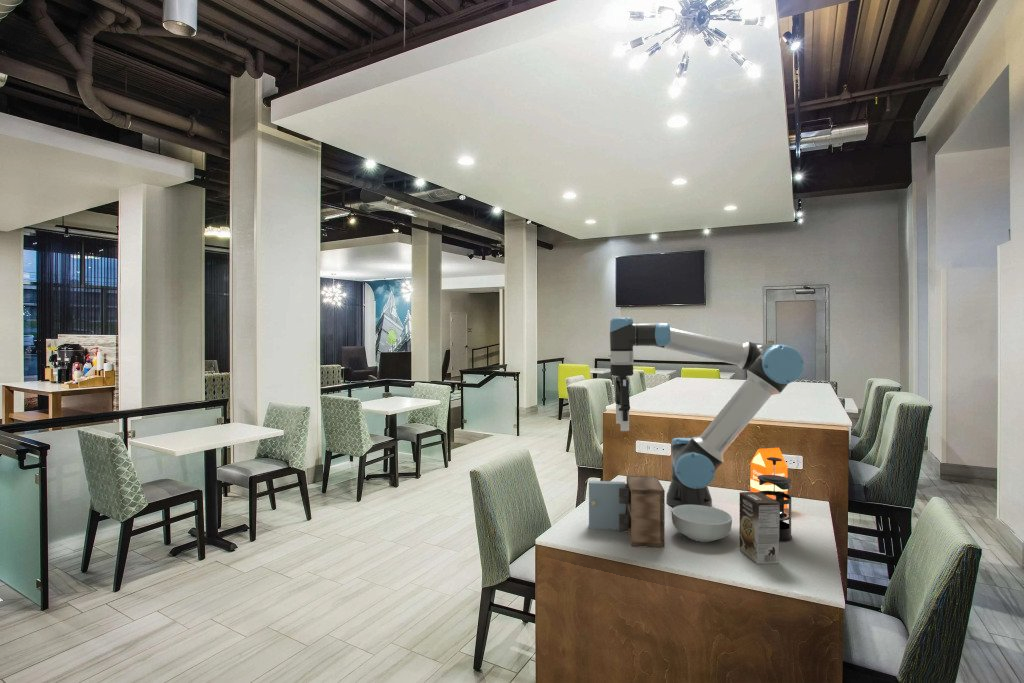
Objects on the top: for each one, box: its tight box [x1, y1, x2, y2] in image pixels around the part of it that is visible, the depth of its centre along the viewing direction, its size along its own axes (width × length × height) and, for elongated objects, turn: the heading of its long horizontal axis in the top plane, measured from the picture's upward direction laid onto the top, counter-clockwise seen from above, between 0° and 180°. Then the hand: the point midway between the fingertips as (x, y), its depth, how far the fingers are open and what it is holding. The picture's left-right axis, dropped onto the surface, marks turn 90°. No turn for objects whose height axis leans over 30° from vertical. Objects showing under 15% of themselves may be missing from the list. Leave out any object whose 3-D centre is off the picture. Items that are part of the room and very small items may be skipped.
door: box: [588, 480, 627, 530], centre depth 158 cm, size 11×4×14 cm, turn 83°
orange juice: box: [749, 447, 789, 509], centre depth 178 cm, size 8×9×20 cm
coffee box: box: [738, 491, 780, 565], centre depth 137 cm, size 9×6×16 cm
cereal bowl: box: [671, 505, 733, 543], centre depth 151 cm, size 17×17×7 cm
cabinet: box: [618, 475, 666, 548], centre depth 152 cm, size 12×16×16 cm
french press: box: [758, 457, 793, 543], centre depth 152 cm, size 12×9×23 cm
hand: (622, 427), depth 172 cm, fingers open, 13 cm apart
